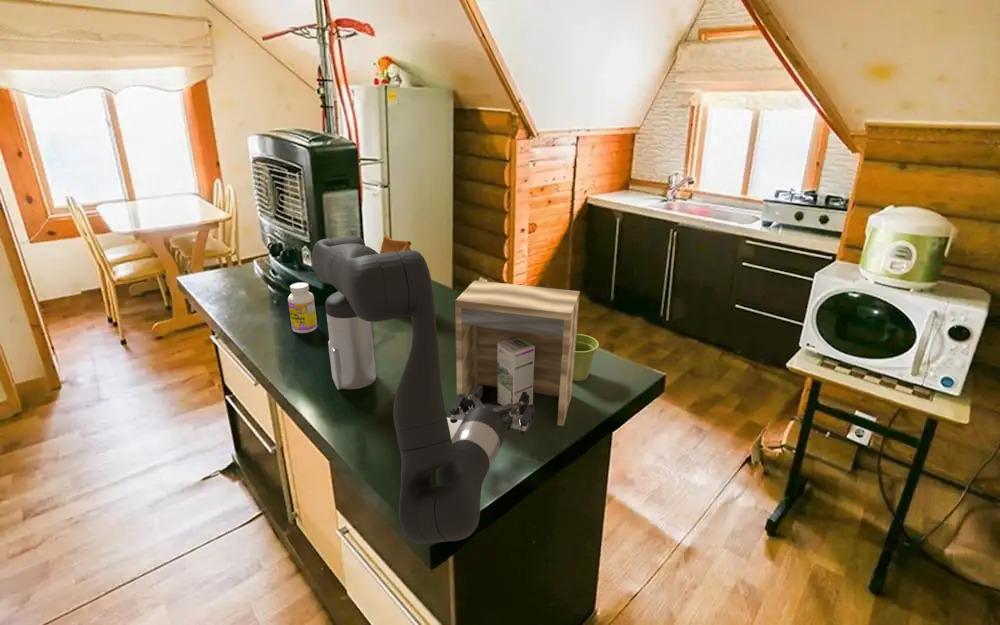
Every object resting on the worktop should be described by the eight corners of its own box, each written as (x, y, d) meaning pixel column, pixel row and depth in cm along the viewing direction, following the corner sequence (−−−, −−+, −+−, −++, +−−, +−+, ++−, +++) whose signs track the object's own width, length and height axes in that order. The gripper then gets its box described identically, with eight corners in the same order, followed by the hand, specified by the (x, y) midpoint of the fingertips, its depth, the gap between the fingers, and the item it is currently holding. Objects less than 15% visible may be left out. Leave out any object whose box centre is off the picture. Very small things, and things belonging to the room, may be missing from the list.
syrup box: (533, 406, 114) (536, 344, 108) (511, 415, 111) (513, 352, 105) (517, 394, 118) (519, 334, 113) (495, 402, 115) (496, 341, 109)
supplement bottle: (286, 331, 147) (280, 287, 142) (303, 322, 152) (297, 279, 147) (306, 335, 144) (300, 290, 139) (322, 326, 150) (317, 283, 145)
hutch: (563, 426, 107) (571, 313, 98) (457, 408, 113) (455, 300, 103) (571, 395, 118) (579, 291, 109) (474, 380, 123) (474, 280, 114)
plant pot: (603, 381, 124) (606, 347, 121) (566, 388, 121) (569, 354, 118) (583, 363, 132) (586, 331, 129) (548, 369, 129) (550, 336, 126)
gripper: (520, 429, 83) (540, 380, 98) (434, 415, 86) (466, 369, 101) (519, 469, 86) (539, 415, 100) (436, 454, 89) (466, 404, 104)
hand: (502, 392), depth 101 cm, fingers open, 8 cm apart
